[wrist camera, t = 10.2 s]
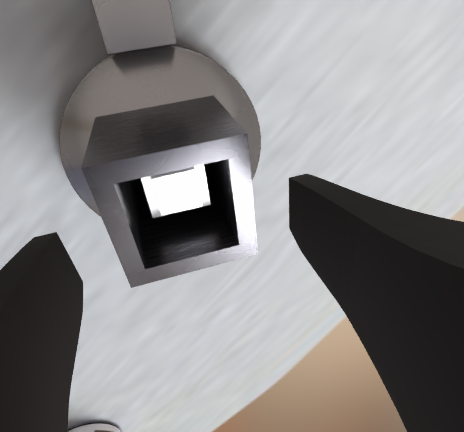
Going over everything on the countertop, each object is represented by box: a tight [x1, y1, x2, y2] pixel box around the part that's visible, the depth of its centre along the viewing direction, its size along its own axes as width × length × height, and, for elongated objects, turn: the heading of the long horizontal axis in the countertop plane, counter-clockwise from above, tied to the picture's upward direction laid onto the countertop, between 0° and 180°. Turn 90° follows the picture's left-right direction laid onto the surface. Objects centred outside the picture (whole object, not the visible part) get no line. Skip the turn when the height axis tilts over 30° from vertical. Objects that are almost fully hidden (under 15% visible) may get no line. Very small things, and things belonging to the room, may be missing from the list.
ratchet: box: [59, 0, 261, 218], centre depth 11 cm, size 9×21×5 cm, turn 6°
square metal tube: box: [81, 95, 258, 288], centre depth 13 cm, size 5×5×5 cm
